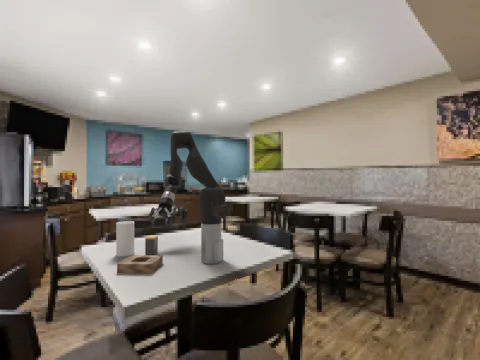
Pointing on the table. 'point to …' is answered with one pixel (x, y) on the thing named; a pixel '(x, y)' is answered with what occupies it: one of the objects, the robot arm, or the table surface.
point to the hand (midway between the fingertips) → (159, 223)
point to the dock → (140, 264)
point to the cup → (125, 238)
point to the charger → (151, 245)
